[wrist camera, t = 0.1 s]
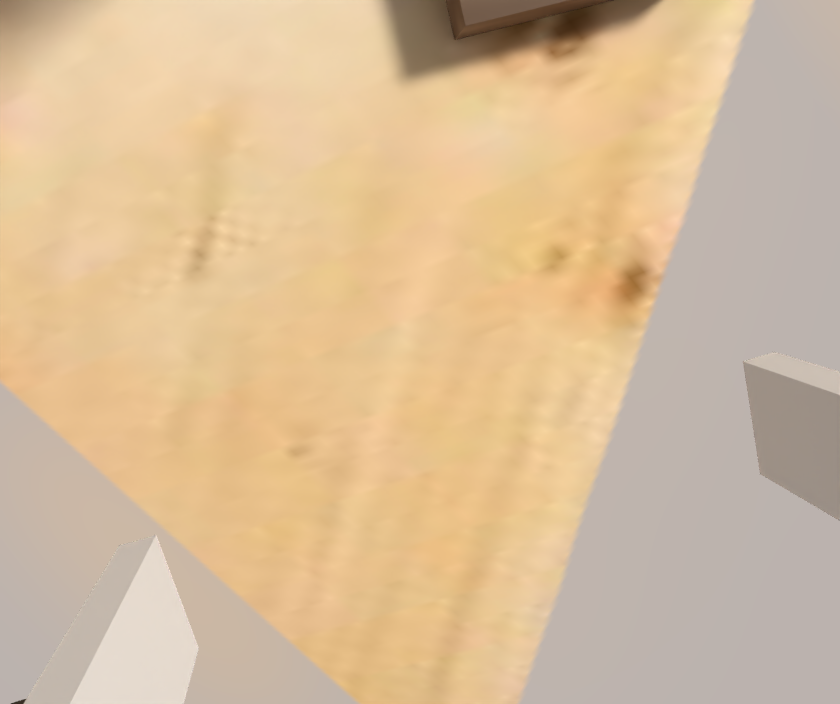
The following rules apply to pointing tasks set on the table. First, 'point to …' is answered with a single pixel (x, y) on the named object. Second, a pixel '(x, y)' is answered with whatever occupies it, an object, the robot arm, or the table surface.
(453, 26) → the walnut picture frame
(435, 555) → the table surface
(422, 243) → the table surface
